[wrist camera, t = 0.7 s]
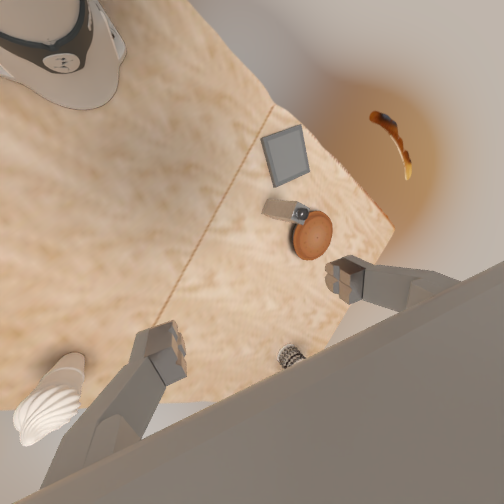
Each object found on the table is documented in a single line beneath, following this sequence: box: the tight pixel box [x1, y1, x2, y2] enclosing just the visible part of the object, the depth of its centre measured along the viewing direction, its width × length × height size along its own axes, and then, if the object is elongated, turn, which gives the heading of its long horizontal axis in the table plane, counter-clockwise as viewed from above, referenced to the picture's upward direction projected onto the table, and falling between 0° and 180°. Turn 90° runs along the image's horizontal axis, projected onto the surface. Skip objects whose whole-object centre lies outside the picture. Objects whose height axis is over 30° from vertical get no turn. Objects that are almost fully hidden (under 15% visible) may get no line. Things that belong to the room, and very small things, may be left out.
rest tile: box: [261, 124, 310, 187], centre depth 51 cm, size 12×12×1 cm
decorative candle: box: [277, 344, 306, 369], centre depth 63 cm, size 9×9×25 cm
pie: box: [292, 211, 333, 260], centre depth 60 cm, size 16×16×5 cm
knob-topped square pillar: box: [262, 199, 310, 225], centre depth 48 cm, size 4×4×14 cm
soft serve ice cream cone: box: [13, 352, 85, 446], centre depth 35 cm, size 8×8×16 cm
